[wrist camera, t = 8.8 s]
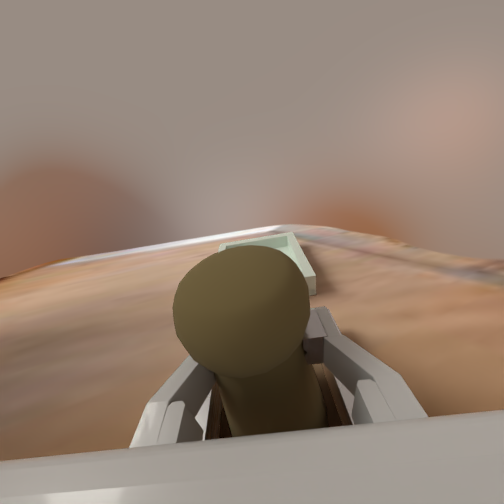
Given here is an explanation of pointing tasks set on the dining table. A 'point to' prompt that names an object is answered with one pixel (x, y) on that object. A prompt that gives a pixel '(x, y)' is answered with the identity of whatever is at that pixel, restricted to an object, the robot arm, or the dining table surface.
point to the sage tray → (288, 247)
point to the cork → (252, 338)
